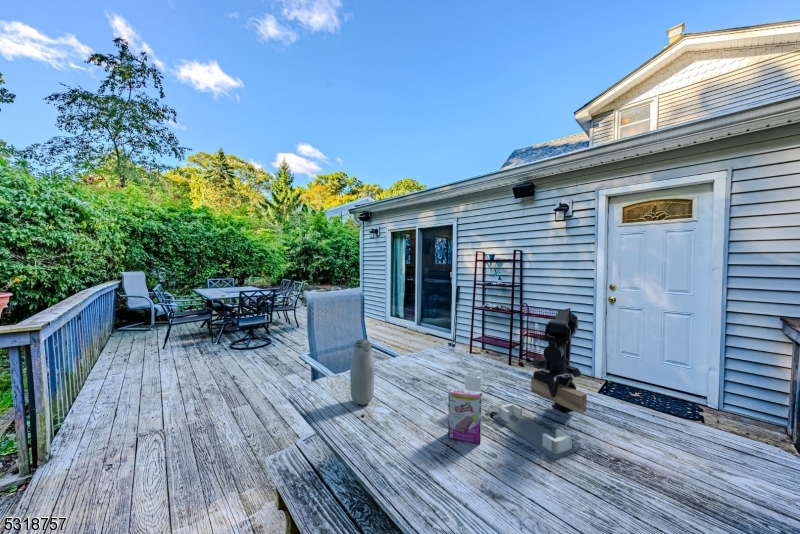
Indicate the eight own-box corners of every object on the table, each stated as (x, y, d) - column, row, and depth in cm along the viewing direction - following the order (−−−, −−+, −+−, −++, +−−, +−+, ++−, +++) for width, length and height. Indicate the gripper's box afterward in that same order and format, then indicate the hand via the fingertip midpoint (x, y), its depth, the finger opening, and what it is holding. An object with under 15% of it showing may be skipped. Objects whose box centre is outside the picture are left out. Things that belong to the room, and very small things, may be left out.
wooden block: (536, 389, 124) (536, 375, 124) (586, 410, 107) (586, 394, 107) (531, 391, 123) (531, 376, 123) (580, 413, 105) (580, 396, 105)
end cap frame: (513, 412, 125) (513, 400, 125) (578, 450, 99) (578, 436, 99) (492, 417, 120) (492, 406, 120) (554, 459, 95) (554, 445, 95)
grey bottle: (346, 406, 130) (346, 341, 129) (358, 396, 139) (358, 335, 139) (367, 410, 126) (366, 343, 125) (377, 400, 135) (377, 337, 135)
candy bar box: (447, 439, 106) (447, 392, 105) (450, 431, 110) (450, 386, 110) (480, 445, 102) (481, 397, 102) (481, 437, 107) (482, 391, 107)
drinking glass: (481, 415, 122) (482, 378, 122) (464, 413, 123) (464, 377, 123) (480, 407, 129) (481, 372, 128) (464, 405, 130) (464, 371, 130)
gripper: (555, 347, 126) (555, 384, 126) (522, 352, 118) (521, 392, 118) (581, 354, 115) (581, 395, 116) (546, 361, 108) (546, 404, 108)
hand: (556, 396), depth 115 cm, fingers closed on wooden block, 4 cm apart
